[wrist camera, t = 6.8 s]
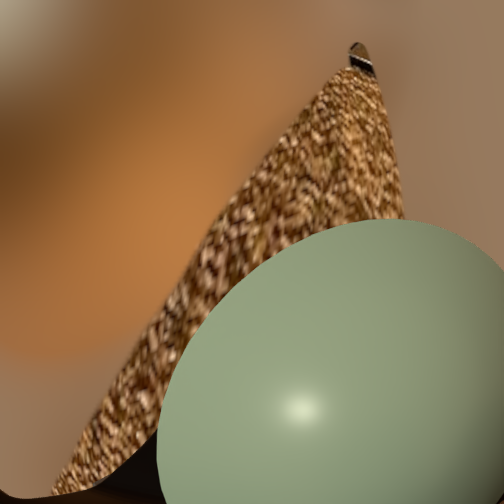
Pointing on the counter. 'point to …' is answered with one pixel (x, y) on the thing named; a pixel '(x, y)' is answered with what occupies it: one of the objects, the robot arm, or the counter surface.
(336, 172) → the counter surface
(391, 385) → the ball
